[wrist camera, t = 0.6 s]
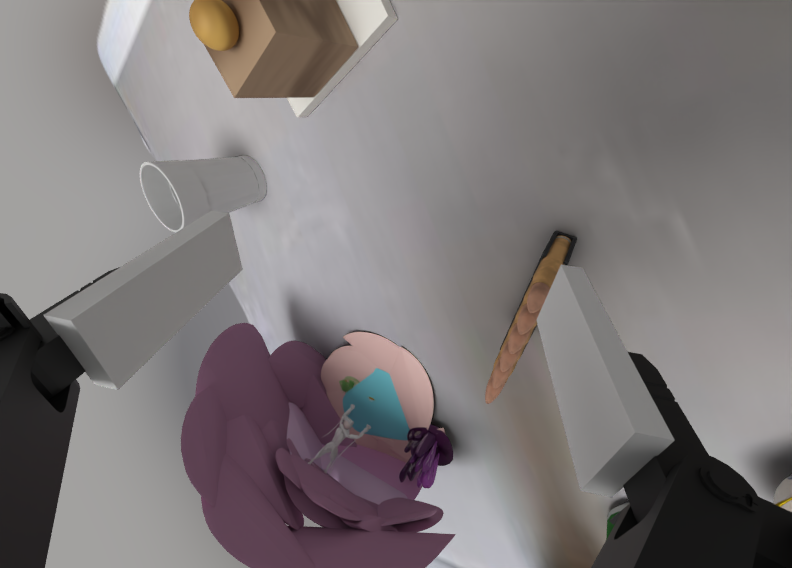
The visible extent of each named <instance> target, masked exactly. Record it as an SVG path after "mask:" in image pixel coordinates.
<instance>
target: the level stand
mask: <svg viewBox="0 0 792 568" xmlns="http://www.w3.org/2000/svg"><path fill="white" fill-rule="evenodd" d="M336 2H337V4H338V6H339V8H340V10H341V12H342V14H343V16H344V18H345V20H346V22H347V24H348V26H349V29H350V31H351V33H352V35H353V37H354V39H355V41H356V43H357V45H358V48H357V49H356V51H355V52H354V53H353V54H352V55H351V56H350V57H349V58H348V60H347V61H346V62H345V63H344V64H343V65H342V66H341V67H340V69H339V70H338V71H337V72H336V73H335V74H334V75H333V76H332V78H331V79H330V80H329V81H328V82H327V83H326V84H325V86H324V87H323V88H322V89H321V90H320V91H319V92H318V93H317V95H316V96H315V97H311V98H287V99H288V101H289V103H290V105H291V107H292V109H293V111H294V112H295V114H296V116H297V118H300V117H308V116H309V115H310V114H311V113H312V111H313V110H314V109H315V108H316V107H317V106H318V105H319V104H320V103H321V102H322V101H323V100H324V98H325V97H326V96H327V95H328V94H329V93H330V92H331V91H332V90H333V89H334V88H335V87H336V85H337V84H338V83H339V82H340V81H341V80H342V79H343V78H344V77H345V76H346V75H347V74H348V72H349V71H350V70H351V69H352V68H353V67H354V66H355V65H356V64H357V63H358V62H359V61H360V59H361V58H362V57H363V56H364V55H365V54H366V53H367V52H368V51H369V50H370V49H371V48H372V46H373V45H374V44H375V43H376V42H377V41H378V40H379V39H380V38H381V37H382V36H383V35H384V33H385V32H386V31H387V30H388V29H389V28H390V27H391V26H392V25H393V24H394V23H395V22H396V20H397V19H398V18H397V16H396V14H395V12H394V10H393V7H392V5H391V3H390V1H389V0H336Z"/></svg>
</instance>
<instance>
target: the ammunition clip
mask: <svg viewBox="0 0 792 568" xmlns="http://www.w3.org/2000/svg"><path fill="white" fill-rule="evenodd" d="M576 240H577V238H576V237H573V236H570V235H566V234H563V233H560V232H557V231H555V232H554V233H553V235H552V237H551V239H550V241H549V243H548V245H547V246H546V248H545V250H544V252H543V254H542V256H541V258H540V261H539V263H538V265H537V267H536V269H535V272H534V274H533V276H532V278H531V281H530V283H529V285H528V287H527V290H526V292H525V294H524V296H523V298H522V301H521V303H520V305H519V307H518V310H517V312H516V314H515V316H514V319H513V321H512V323H511V325H510V328H509V330H508V332H507V334H506V336H505V339H504V341H503V343H502V345H501V348H500V352H499V354H498V356H497V358H496V361H495V363H494V368H493V371H492V374H491V377H490V379H489V381H488V384H487V388H486V394H485V400H486V403H487V404H489V403H491V402H492V401H493V400H495V399H496V397H497V396H498V395H499V394H500V392H501V390H502V389H503V387H504V384H505V383H506V381H507V379H508V377H509V376H510V375H511V374H512V372H513V370H514V368H515V366H516V364H517V361H518V360H519V359H520V357H521V355H522V353H523V351H524V349H525V347H526V345H527V343H528V341H529V339H530V337H531V335H532V333H533V331H534V330H535V328H536V326H537V317H538V315H539V313H540V311H541V308H542V306H543V304H544V302H545V299H546V297H547V295H548V293H549V290H550V288H551V286H552V284H553V281H554V279H555V277H556V275H557V272H558V270H559V268H560V266H561V265H568V262H569V259H570V257H571V254H572V251H573V248H574V246H575V243H576Z"/></svg>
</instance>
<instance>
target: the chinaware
mask: <svg viewBox="0 0 792 568" xmlns="http://www.w3.org/2000/svg"><path fill="white" fill-rule="evenodd" d="M773 504H775V505H777V506H779V507H782V508H784V509H786V510H788V511H790V512H792V475H790V476H788V477H787V478H785V479H784V480H783V481H782V482H781V483H780V484H779V486H778V487H777V489H776V492H775V495H774V503H773Z"/></svg>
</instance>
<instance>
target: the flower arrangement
mask: <svg viewBox="0 0 792 568" xmlns="http://www.w3.org/2000/svg"><path fill="white" fill-rule="evenodd" d="M343 338H344V339H345V340H347V341H348V342H349V343H350V344H351V345H352V346H343V347H340V348H338V349H336V350H335V351H333V352H332V353H331V355H330V356H329V358H328V359H327V360H326V359H325V358H324V356H323V355H321V354H320V353H319V352H318V351H316V350H315V349H314V348H312V347H311V346H309V345H307V344H306V343H303V342H299V341H289V342H286V343H284V344H283V345H281V346H280V347H278V348H277V349H276V350H275V351H274V352H273V353H272V354H271V356H270V354H269V352H268V349H267V347H266V345H265V342H264V340H263V338H262V336H261V335H260V333H259V332H258V330H257V329H256V328H255V327H254V326H253V325H251V324H248V323H240V324H235V325H233V326H231V327H229V328H228V329H226V330H225V331H224V332H222V333H221V334H220V335H219V336H218V337H217V338H216V339H215V341H214V342H213V343H212V344H211V346H210V348H209V349H208V351H207V353H206V355H205V357H204V359H203V361H202V364H201V367H200V370H199V374H198V379H197V384H196V394H195V398H194V399H193V401H192V402H191V404H190V407H189V409H188V411H187V413H186V415H185V419H184V423H183V426H182V435H181V452H182V457H183V462H184V466H185V470H186V473H187V475H188V477H189V479H190V481H191V483H192V484H193V486H194V487H195V488H196V490H197V491H198V492H199V494H200V495H201V501H202V508H203V513H204V516H205V520H206V523H207V525H208V527H209V529H210V531H211V533H212V534H213V535H214V537H215V538H216V539H217V540H218V542H219V543H220V544H221V545H222V546H223V547H224V548H225V549H226V551H227V552H229V553H230V554H231V555H232V556H233V557H235V558H236V559H237V560H239V561H240V562H242V563H243V564H245V565H247V566H248V567H250V568H425V567H427V566H428V565H429V564H430V563H431V562H432V561H433V560H434V559H435V558H436V557H437V556H438V555H439V553H440V552H441V551H442V550H443V549H444V548H445V547H446V545H447V544H448V543H449V542H450V541H451V540H452V538H453V537H454V536H455V535H456V534H437V533H418V532H419V531H423V530H425V529H428V528H430V527H432V526H433V525H435V524H436V523H438V522H439V521H440V520H441V518H442V516H443V510H442V509H440V508H439V507H436V506H433V505H430V504H427V503H424V502H420V501H415V500H414V499H415V498H416V497H417V495H418V493H419V492H420V490H421V488H422V486H423V487H424V488H430V487H431V486H432V485H433V483H434V480H435V475H436V471H437V466H438V465H440V466H445V465H447V464H450V462H451V461H452V460H453V449H452V445H451V443H450V441H449V438H448V437H447V436H446V435H445V431H444V428H438V427H436V426H434V425H431V424H430V423H431V420H432V415H433V408H434V399H433V391H432V386H431V383H430V380H429V378H428V375H427V373H426V371H425V370H424V368H423V366H422V365H421V364H420V362H419V361H418V360H417V359H416V358H415V357H414V356H413V355H412V354H411V353H410V352H408V351H407V350H406V349H404V348H402V347H401V348H400V347H399V346H397V345H396V344H395V343H393V342H391V341H390V340H388V339H386V338H384V337H382V336H379V335H376V334H372V333H368V332H353V333H349V334H347V335H345V336H343ZM302 514H304V515H305V516H306V517H307V518H309V519H310V520H312V521H313V522H315V523H317V524H318V525H320V526H322V527H303V525H304V518H303V515H302ZM285 523H286V524H287V525H289V526H287V525H286V524H285ZM323 527H324V528H323Z"/></svg>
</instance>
